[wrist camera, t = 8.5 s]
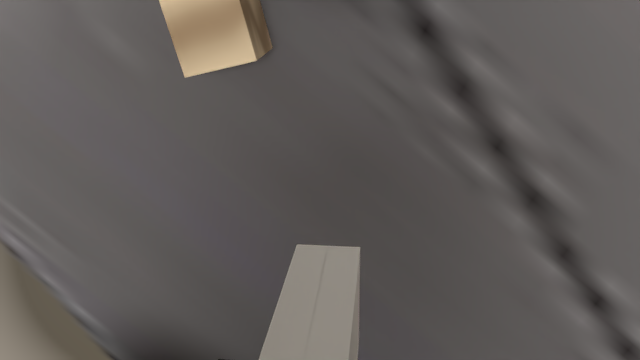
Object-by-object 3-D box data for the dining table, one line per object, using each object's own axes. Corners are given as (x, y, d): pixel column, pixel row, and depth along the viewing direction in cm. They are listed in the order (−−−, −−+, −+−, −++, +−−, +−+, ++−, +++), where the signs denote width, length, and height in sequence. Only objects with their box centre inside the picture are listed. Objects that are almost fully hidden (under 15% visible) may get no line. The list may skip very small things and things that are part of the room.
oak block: (273, 47, 40) (256, 60, 35) (208, 63, 41) (184, 77, 36) (253, -25, 38) (233, -21, 34) (186, -7, 39) (158, -1, 35)
